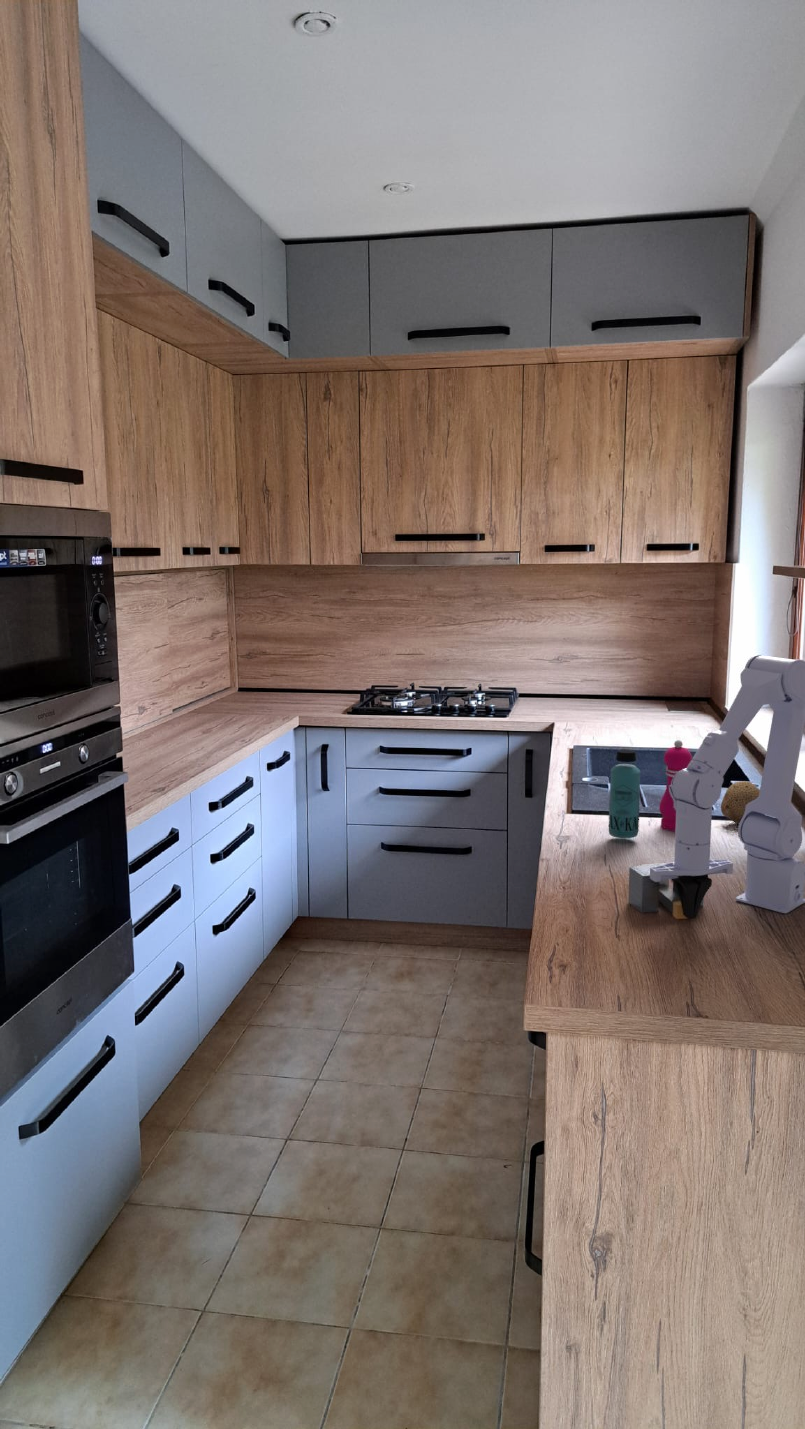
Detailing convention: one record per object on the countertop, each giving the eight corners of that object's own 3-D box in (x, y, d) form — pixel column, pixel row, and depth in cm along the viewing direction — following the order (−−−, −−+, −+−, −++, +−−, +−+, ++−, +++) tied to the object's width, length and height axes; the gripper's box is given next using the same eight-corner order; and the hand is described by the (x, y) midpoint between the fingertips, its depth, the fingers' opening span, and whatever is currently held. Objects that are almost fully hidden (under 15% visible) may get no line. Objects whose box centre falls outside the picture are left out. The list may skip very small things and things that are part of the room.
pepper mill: (680, 834, 215) (683, 745, 212) (652, 827, 221) (655, 740, 217) (698, 827, 220) (702, 740, 216) (670, 820, 225) (673, 735, 222)
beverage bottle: (605, 836, 215) (607, 746, 211) (636, 835, 215) (638, 746, 211) (610, 845, 209) (612, 753, 205) (642, 845, 208) (644, 753, 205)
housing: (703, 905, 175) (704, 869, 173) (641, 913, 172) (642, 876, 171) (688, 895, 180) (689, 860, 178) (628, 902, 177) (629, 866, 175)
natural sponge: (773, 827, 219) (775, 783, 218) (743, 832, 216) (745, 788, 214) (742, 816, 227) (744, 775, 226) (713, 822, 224) (715, 779, 222)
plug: (696, 917, 170) (697, 892, 169) (674, 919, 169) (675, 894, 168) (659, 886, 185) (660, 863, 184) (639, 887, 184) (640, 864, 183)
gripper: (718, 829, 171) (714, 903, 173) (642, 837, 167) (639, 912, 170) (741, 841, 164) (737, 918, 166) (662, 849, 161) (659, 928, 163)
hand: (689, 916), depth 168 cm, fingers closed
